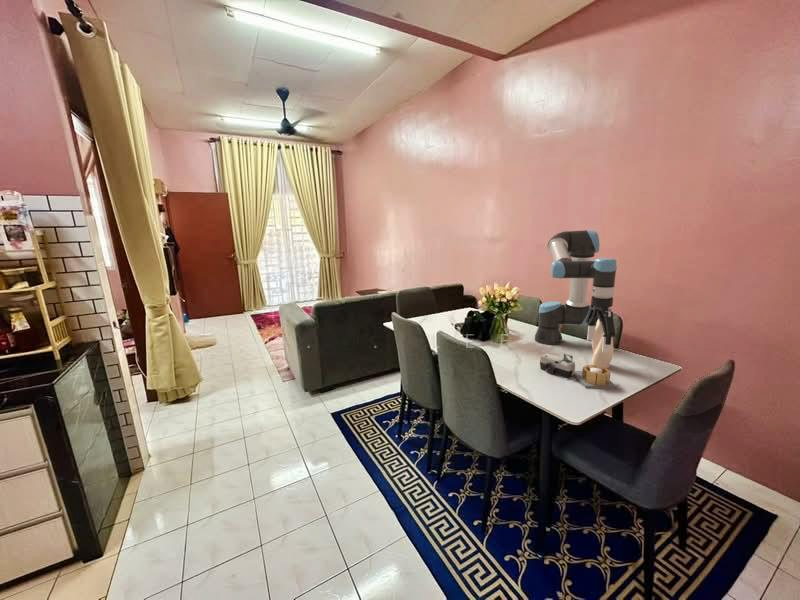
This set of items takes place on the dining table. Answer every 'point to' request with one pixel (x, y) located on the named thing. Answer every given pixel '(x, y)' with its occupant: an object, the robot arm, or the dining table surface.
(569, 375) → the camera
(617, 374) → the dining table surface
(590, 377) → the ring
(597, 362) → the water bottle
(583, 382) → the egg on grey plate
